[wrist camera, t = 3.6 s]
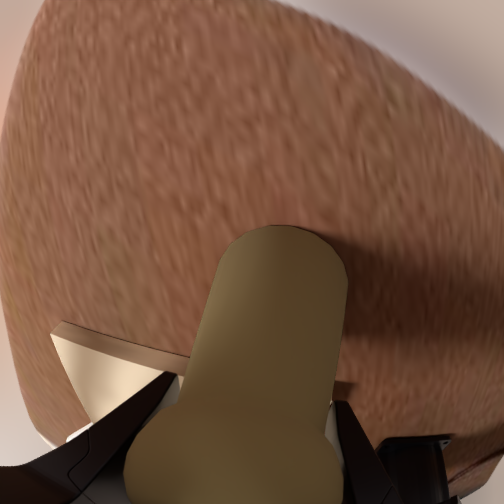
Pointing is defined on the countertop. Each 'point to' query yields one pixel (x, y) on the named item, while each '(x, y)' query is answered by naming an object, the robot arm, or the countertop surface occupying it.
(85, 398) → the birch board
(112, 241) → the countertop surface
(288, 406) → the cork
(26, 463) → the robot arm
